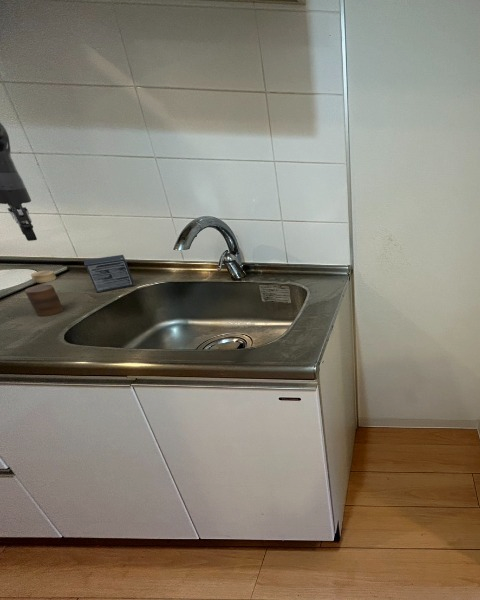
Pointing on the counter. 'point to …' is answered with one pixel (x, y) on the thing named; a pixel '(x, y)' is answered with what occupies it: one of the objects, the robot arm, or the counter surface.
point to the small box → (109, 273)
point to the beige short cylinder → (43, 276)
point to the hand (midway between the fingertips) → (30, 237)
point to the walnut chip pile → (44, 300)
